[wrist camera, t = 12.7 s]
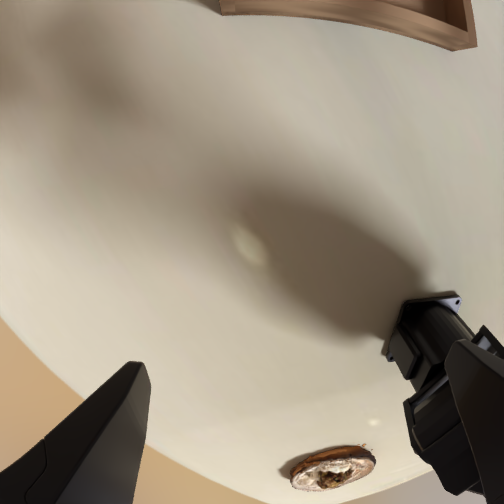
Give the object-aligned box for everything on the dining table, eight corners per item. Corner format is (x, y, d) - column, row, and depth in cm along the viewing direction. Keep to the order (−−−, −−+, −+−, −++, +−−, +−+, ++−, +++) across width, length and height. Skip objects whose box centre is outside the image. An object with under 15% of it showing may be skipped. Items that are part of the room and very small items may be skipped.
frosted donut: (387, 459, 36) (394, 480, 32) (302, 489, 39) (304, 509, 35) (371, 425, 31) (380, 452, 27) (262, 462, 33) (263, 488, 30)
